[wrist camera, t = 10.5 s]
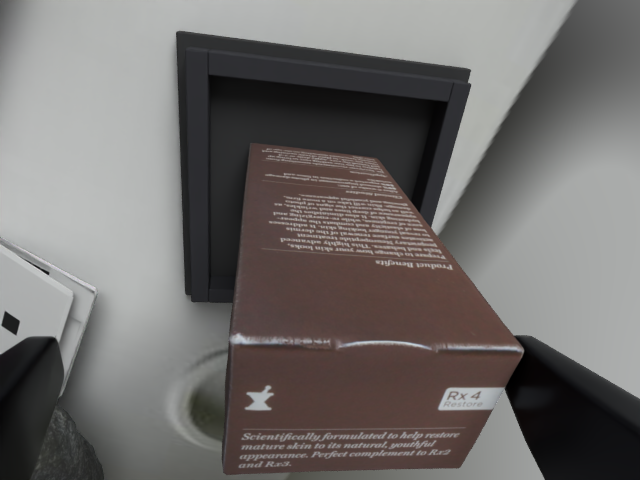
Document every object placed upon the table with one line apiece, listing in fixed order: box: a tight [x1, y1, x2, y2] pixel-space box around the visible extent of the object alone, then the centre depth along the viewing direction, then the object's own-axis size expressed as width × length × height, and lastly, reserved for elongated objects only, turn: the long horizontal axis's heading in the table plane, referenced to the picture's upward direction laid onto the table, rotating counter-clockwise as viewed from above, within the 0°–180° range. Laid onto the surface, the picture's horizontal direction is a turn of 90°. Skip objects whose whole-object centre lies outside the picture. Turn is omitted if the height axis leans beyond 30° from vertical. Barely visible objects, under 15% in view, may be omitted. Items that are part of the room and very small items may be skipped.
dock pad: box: [176, 31, 471, 303], centre depth 19 cm, size 12×12×2 cm
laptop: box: [0, 237, 98, 397], centre depth 20 cm, size 7×6×2 cm
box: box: [222, 143, 524, 475], centre depth 14 cm, size 6×4×12 cm
